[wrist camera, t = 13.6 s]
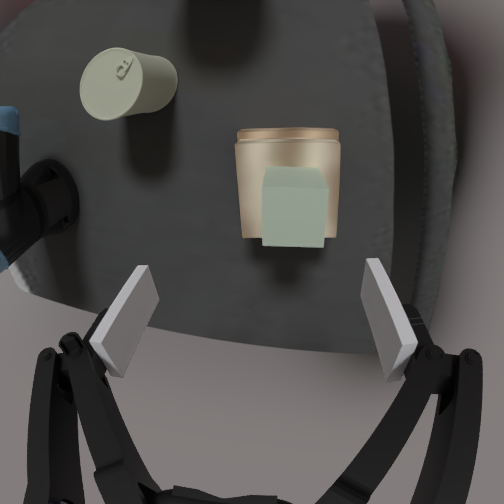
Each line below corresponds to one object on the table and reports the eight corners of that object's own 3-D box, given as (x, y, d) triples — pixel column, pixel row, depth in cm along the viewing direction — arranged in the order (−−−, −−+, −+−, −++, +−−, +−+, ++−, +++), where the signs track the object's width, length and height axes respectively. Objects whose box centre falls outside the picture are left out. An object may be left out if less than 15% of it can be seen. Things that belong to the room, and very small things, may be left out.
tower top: (246, 223, 41) (242, 237, 37) (240, 139, 35) (234, 144, 31) (330, 222, 40) (335, 237, 36) (333, 138, 34) (340, 143, 30)
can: (190, 82, 35) (156, 77, 24) (148, 124, 38) (106, 137, 28) (152, 44, 32) (110, 32, 21) (113, 88, 35) (65, 91, 25)
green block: (266, 213, 35) (262, 245, 28) (266, 166, 32) (261, 186, 25) (315, 215, 34) (323, 247, 28) (318, 167, 31) (328, 189, 25)
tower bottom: (247, 211, 45) (244, 223, 41) (241, 129, 38) (237, 132, 34) (330, 211, 43) (335, 223, 39) (332, 128, 37) (338, 131, 33)
